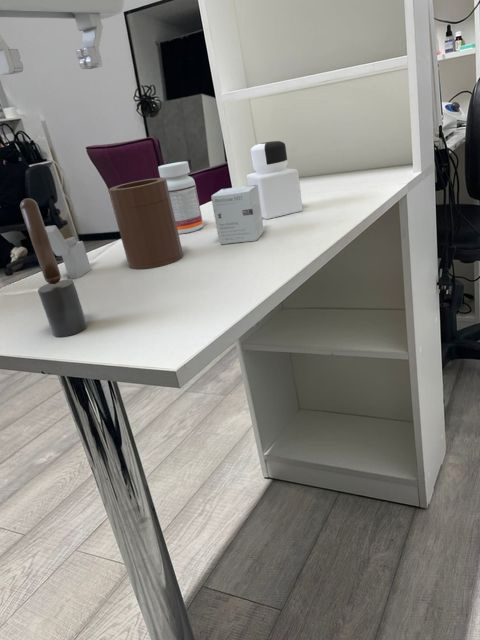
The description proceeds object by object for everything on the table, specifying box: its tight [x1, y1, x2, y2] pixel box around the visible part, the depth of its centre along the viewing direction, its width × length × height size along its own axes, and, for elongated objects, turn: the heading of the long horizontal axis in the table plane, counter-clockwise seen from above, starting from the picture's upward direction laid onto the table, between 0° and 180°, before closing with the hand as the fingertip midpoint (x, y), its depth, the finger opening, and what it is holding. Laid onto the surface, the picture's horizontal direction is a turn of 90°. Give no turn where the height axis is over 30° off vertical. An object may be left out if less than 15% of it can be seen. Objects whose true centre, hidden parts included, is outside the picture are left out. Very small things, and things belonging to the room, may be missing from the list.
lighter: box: [45, 224, 92, 280], centre depth 76 cm, size 7×2×8 cm, turn 172°
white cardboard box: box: [210, 185, 265, 245], centre depth 82 cm, size 6×6×7 cm
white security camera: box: [246, 140, 304, 220], centre depth 95 cm, size 7×7×12 cm
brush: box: [19, 197, 88, 338], centre depth 55 cm, size 4×4×14 cm
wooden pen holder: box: [107, 177, 184, 270], centre depth 77 cm, size 8×8×11 cm
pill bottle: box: [157, 161, 204, 235], centre depth 94 cm, size 6×6×11 cm
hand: (54, 70), depth 51 cm, fingers open, 8 cm apart
